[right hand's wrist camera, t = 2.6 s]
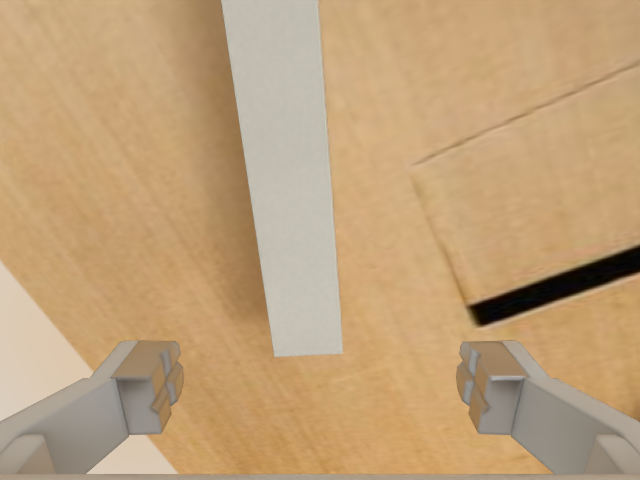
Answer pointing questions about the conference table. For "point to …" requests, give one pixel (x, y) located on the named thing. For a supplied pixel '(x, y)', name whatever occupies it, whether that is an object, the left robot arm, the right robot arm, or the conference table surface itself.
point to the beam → (288, 167)
